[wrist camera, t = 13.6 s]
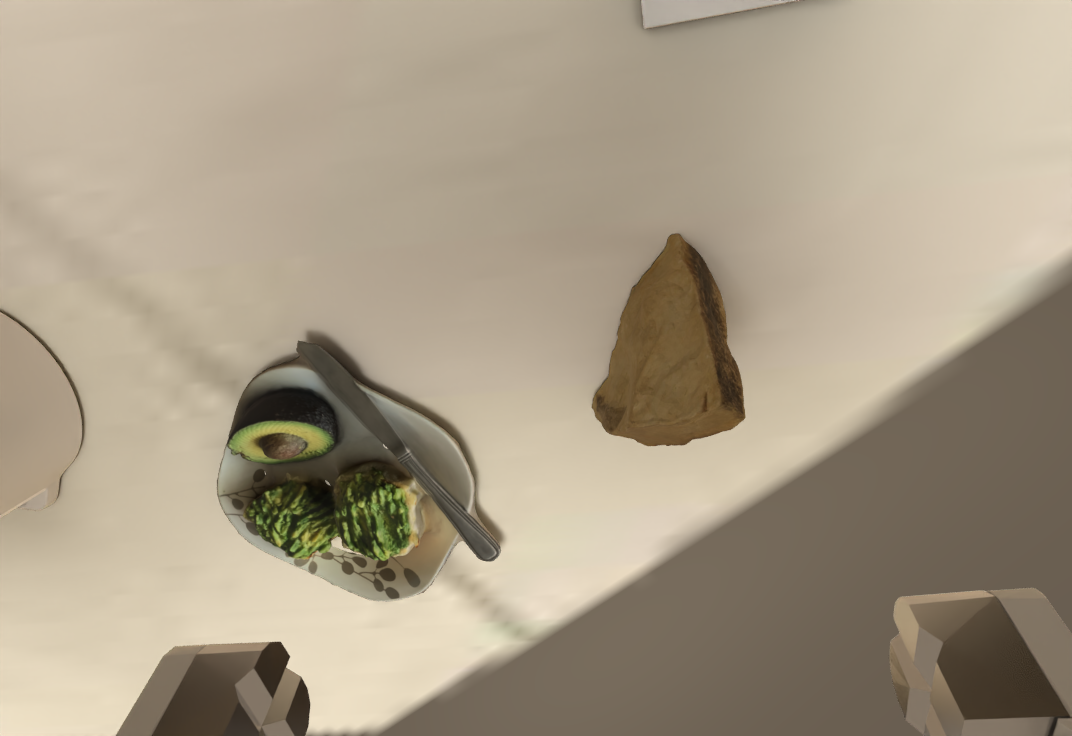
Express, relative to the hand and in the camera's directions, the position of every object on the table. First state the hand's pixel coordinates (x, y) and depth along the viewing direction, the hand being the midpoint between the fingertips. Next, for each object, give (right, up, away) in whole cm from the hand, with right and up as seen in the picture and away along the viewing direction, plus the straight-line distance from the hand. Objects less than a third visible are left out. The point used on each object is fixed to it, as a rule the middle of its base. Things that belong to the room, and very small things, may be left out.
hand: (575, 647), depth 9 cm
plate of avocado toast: (-13, -3, +38) cm, 41 cm away
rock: (+6, +6, +30) cm, 31 cm away
